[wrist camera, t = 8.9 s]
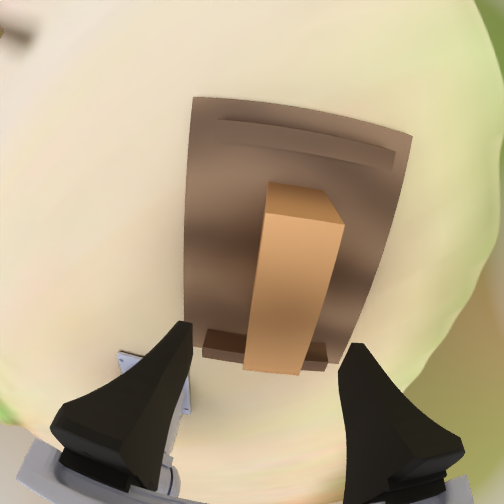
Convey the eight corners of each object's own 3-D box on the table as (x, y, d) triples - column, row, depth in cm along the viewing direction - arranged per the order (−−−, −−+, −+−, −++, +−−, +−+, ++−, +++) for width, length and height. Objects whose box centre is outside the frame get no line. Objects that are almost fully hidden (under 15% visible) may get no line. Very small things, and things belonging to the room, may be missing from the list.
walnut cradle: (336, 357, 25) (341, 381, 22) (187, 338, 25) (179, 362, 22) (407, 135, 16) (428, 139, 13) (196, 97, 16) (182, 94, 13)
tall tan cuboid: (294, 316, 22) (298, 375, 17) (250, 310, 22) (242, 369, 17) (323, 190, 17) (344, 224, 12) (268, 181, 17) (265, 212, 12)
